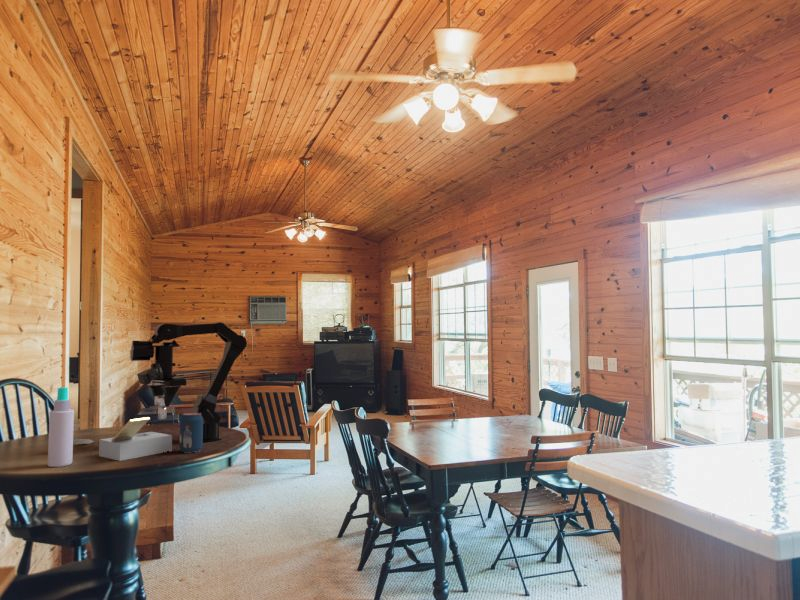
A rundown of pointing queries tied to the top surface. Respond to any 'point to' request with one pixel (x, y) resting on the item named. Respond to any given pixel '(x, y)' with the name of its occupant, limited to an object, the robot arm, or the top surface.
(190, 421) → the soda can
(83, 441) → the caliper
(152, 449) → the block
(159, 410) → the steel pin
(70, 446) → the spray bottle
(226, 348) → the robot arm
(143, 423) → the plate
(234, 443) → the top surface
